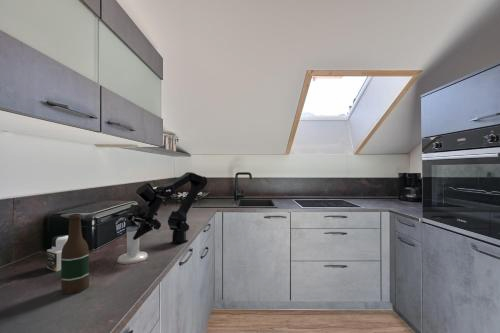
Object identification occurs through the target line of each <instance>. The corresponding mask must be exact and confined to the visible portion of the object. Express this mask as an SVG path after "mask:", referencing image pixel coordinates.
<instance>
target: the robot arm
mask: <svg viewBox="0 0 500 333" xmlns="http://www.w3.org/2000/svg"><path fill="white" fill-rule="evenodd" d="M187 183H190V189H189V190H188V192H187V194H186V196H185V197H184V198H183V201H182V202H181V204H180V206H179V208H178V209H177V210H176V211H175V210H172V211H171V213H170V215H169V216H168V219H167V225H168V227H169V230H170V231H172V241H170V244H176V245H182V244H185V243H187V242H188V241H189V239H187V232H188V231H189V230H190V225H189V224H188V223H187V221H188V220H187V216H188V213H189V212H190V211H189V210H190V208H191V207H192V205H193V204H194V202H195V199H197V196H198V194H199V193H200V192H201V191H203V190H204V189H206V186H207V184H208V178H207V176H202V175H199V174H197V173H194V172H193V171H191V172H189V171H187V172H185V173H184V174H182V175H181V176H178V177H177V178H176V179H174V180H172V181H171V182H168V183H165V184H161V185H158V186H156V188H154V187H153V186H152V185H151V183H149V182H146V183H144V184H143V185H141V186H140V187H138V188H137V189H136V191H135V194H136V195H137V196H138V197H139V198H140V199H141V200H143V202H144V203H147V204H143V203H141V204H140V205H137V204H130V207H129V210H128V212H129V213H126V214H125V216H124V218H123V219H124V220H126V221H127V222H128V224H129V225H128V227H130V226H139V229H138V231H137V232H136V234H135V235H134V237H133V239H134V240H136V239H137V238H139V239H140V238H141V237H142V236H144V235H145V234H147V233H149V232H151V231H153V230H157V231H159V230H160V228H161V227H162V223H161V222H160V221H159V220H158V219H157V218H156V217H157V216H158V211H159V210H160V208H162V207H166V206H167V200H166V199H169V198H172V196H173V195H175V193H176V191H177V190H178V189H179V188H181V187H183V186H185V185H187ZM164 198H165V199H164ZM125 238H126V239H127V233H126V234H125Z"/></svg>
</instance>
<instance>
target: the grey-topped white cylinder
mask: <svg viewBox="0 0 500 333" xmlns="http://www.w3.org/2000/svg"><path fill="white" fill-rule="evenodd" d="M139 227H140V225H138V226H130V227H129V226H127V227H126V234H127V238H126V253H127V255H135V254H138V253H139V251H140V237H139V238H137V239H136V240H134V239H133V237H134V235H135V234H136V232H137V231H138V229H139Z"/></svg>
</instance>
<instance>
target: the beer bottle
mask: <svg viewBox="0 0 500 333" xmlns="http://www.w3.org/2000/svg"><path fill="white" fill-rule="evenodd" d="M82 218H83V217H82V214H81V213H72V214H68V220H69V221H68V222H69V223H68V234H67V235H68V240H67V241H66V243H65V244H64V246H63V249H62V254H61V270H60V273H61V274H60V275H61V277H60V278H61V279H60V280H61V283H60V285H61V286H60V287H61V294H62V295H69V296H71V295H75V294H80V293H82V292H83V291H85V290H88V289H89V287H90V252H89V249H90V248H89V245H88V243H87V241H86V240H85V239H84V238H83V232H82V220H81V219H82Z"/></svg>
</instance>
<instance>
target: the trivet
mask: <svg viewBox="0 0 500 333" xmlns="http://www.w3.org/2000/svg"><path fill="white" fill-rule="evenodd" d="M148 258H149V254H148V253H147V252H146V251H141V250H139V253H138V254H135V255H127V252H125V253H123V254H121V255H119V257H118V258H117V260H116V262H117V263H118V264H121V265H132V264H133V265H134V264H137V263H141V262H144V261H146V260H148Z"/></svg>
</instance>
